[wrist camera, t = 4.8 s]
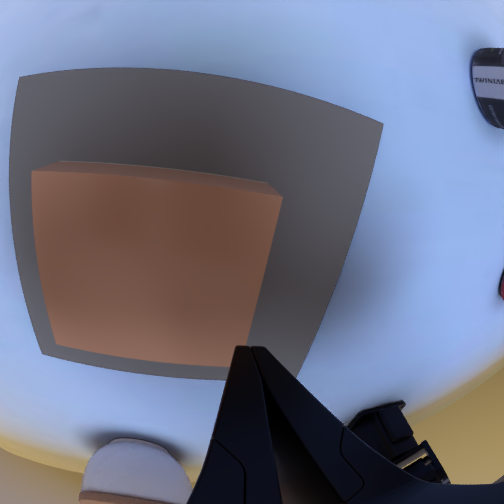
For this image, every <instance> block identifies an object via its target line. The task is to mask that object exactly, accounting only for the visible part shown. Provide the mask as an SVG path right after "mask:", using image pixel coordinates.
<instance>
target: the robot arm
mask: <svg viewBox="0 0 504 504" xmlns="http://www.w3.org/2000/svg"><path fill="white" fill-rule="evenodd" d="M405 405H406V404H405V402H404V401H403V402H399V403H396V404H392V405H388V406H384V407H380V408H376V409H372V410H368V411H364V412H361V413H360V414H359V415H358V416H357V417H356V418H355V419H354V421H353V422H352V423H351V424H350V425H349V427H348V428H347V427H346V426H344V425H343V423H342V422H341V421H339V420H338V419H337V418H336V417H335V416H334V415H333V414H332V413H331V412H330V411H329V410H328V409H327V408H326V407H325V406H324V405H323V404H321V403H320V402H319V401H318V400H317V399H316V398H315V397H314V396H313V395H312V394H311V393H310V392H309V391H308V390H307V389H306V388H305V387H304V386H303V385H302V384H301V383H300V382H299V381H298V380H297V379H296V378H295V377H294V376H293V375H292V374H291V373H290V372H289V371H288V370H287V369H286V368H285V367H284V366H283V365H282V364H281V363H280V362H279V361H278V360H277V359H276V358H275V357H274V356H273V355H272V353H271V352H270V351H269V350H268V349H267V348H266V347H264V346H251V347H249V346H246V345H236V346H235V349H234V353H233V356H232V360H231V364H230V368H229V372H228V376H227V380H226V383H225V387H224V391H223V395H222V399H221V403H220V406H219V410H218V414H217V418H216V422H215V425H214V429H213V433H212V437H211V440H210V444H209V447H208V451H207V454H206V458H205V461H204V464H203V467H202V470H201V472H200V475H199V477H198V479H197V482H196V484H195V487H194V488H193V490H192V493H191V495H190V497H189V499H188V501H187V503H186V504H504V475H503V476H502V477H501V478H499V479H498V480H497V481H495V482H494V483H493V484H480V485H458V484H457V485H456V484H451V483H450V480H449V478H448V476H447V474H446V472H445V471H444V469H443V467H442V465H441V464H440V462H439V460H438V459H437V457H436V455H435V454H434V452H433V451H432V449H431V447H430V446H429V444H428V442H427V441H426V440H424V441H423V442H422V443H421V444H420V445H418V444H417V442H416V441H415V439H414V437H413V431H412V429H411V427H410V425H409V424H408V422H407V420H406V419H405V417H404V415H403V414H402V412H401V410H402V409H403V408H404V407H405ZM425 453H426V455H427V456H426V457H424V458H420V459H418V460H417V461H415V462H413V463H412V464H410V465H408V466H407V467H405V468H403V469H401V468H402V467H404V466H406V465H407V464H409V463H411V462H412V461H414V460H415V459H417V458H419V457H420V456H422V455H423V454H425Z"/></svg>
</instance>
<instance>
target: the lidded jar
mask: <svg viewBox="0 0 504 504" xmlns="http://www.w3.org/2000/svg"><path fill="white" fill-rule="evenodd" d="M192 490H193V489H192V486H191V483H190V480H189V477H188V476H187V474H186V472H185V470H184V469H183V468H182V466H181V465H180V464H179V463H178V462H177V461H176V460H175V459H174V458H173V457H172V456H170V455H169V452H168V451H167V450H166V449H165V448H163V447H161V446H159V445H157V444H155V443H152V442H148V441H144V440H139V439H133V438H118V439H114V440H112V441H111V442H110V444H108V445H106V446H104V447H102V448H100V449H99V450H97V451H96V452H95V453H94V454H93V455H92V457H91V458H90V460H89V461H88V464H87V466H86V468H85V471H84V475H83V479H82V487H81V492H80V494H79V502H80V503H81V504H186V503H187V501H188V499H189V497H190V495H191V493H192Z"/></svg>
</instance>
